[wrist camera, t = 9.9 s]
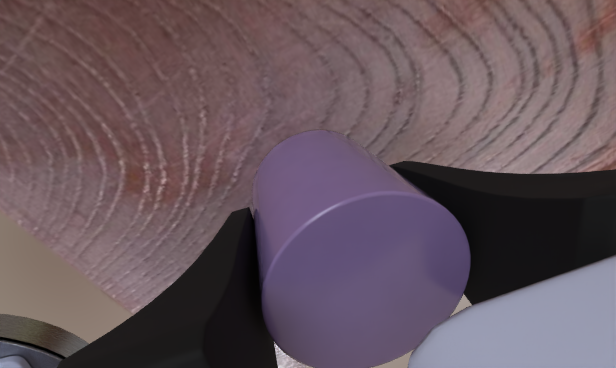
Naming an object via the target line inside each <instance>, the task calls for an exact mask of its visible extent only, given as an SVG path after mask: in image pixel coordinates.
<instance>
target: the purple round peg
mask: <svg viewBox="0 0 616 368" xmlns="http://www.w3.org/2000/svg"><path fill="white" fill-rule="evenodd" d="M252 207H253V219H254V230H255V242H256V253H257V265H258V276H259V288H260V299H261V309H262V315H263V320H264V323H265V326H266V328H267V331H268V332H269V334H270V336H271V337H272V339H273V341H274V342H275V343H276V344H277V345H278V346H279V348H280V349H281V350H282V351H284V352H285V353H286V354H287V355H288V356H290V357H291V358H293V359H295V360H296V361H298V362H300V363H302V364H305V365H307V366H310V367H313V368H371V367H375V366H379V365H382V364H384V363H387V362H390V361H392V360H395V359H397V358H399V357H401V356H403V355H405V354H407V353H408V352H410V351H412V350H413V349H415V348H416V347H417V346H418V345H419V343H420V342H421V341H422V340H423V339H424V337H425V336H426V335H427V334H428V333H429V332H430V330H431V329H432V328H433V327H434V326H435V325H436V324H438V323H440V322H442V321H444V320H445V319H447V318H449V317H450V315H451V314H452V313H453V311H454V310H455V308H456V307H457V305H458V303H459V302H460V300H461V298H462V296H463V293H464V291H465V289H466V285H467V282H468V279H469V273H470V267H471V254H470V247H469V243H468V240H467V237H466V234H465V232H464V230H463V228H462V226H461V224H460V223H459V221H458V220H457V219H456V217H455V216H454V215H453V214H452V213H451V212H450V211H449V210H448V209H447V208H446V207H444V206H443V205H442V204H440V203H439V202H438V201H436V200H435V199H433V198H432V197H431V196H429V195H428V194H427V193H425V192H424V191H423V190H421V189H420V188H419V187H417V186H416V185H414V184H413V183H412V182H410V181H409V180H408V179H406V178H405V177H404V176H402V175H401V174H400V173H398V172H397V171H395V170H394V169H393V168H391V167H390V166H389V165H387V164H386V163H385V162H383V161H382V160H380V159H379V158H378V157H376V156H375V155H374V154H372V153H371V152H370V151H368V150H367V149H366V148H364V147H363V146H361V145H360V144H359V143H357V142H356V141H354V140H353V139H351V138H350V137H348V136H346V135H343V134H341V133H337V132H334V131H328V130H313V131H306V132H302V133H299V134H296V135H294V136H291V137H289V138H287V139H286V140H284V141H282V142H281V143H279V144H278V145H277V146H275V147H274V148H273V149H272V150H271V151H270V152H269V153H268V154H267V155H266V157H265V158H264V159H263V161H262V162H261V164H260V166H259V167H258V170H257V172H256V174H255V177H254V181H253V185H252Z"/></svg>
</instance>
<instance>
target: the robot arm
mask: <svg viewBox="0 0 616 368" xmlns="http://www.w3.org/2000/svg"><path fill="white" fill-rule="evenodd" d="M389 166H390V167H391V168H393V169H394V170H395V171H397V172H398V173H400V174H401V175H402V176H404V177H405V178H406V179H408V180H409V181H410V182H412V183H413V184H414V185H416V186H417V187H419V188H420V189H421V190H423V191H424V192H425V193H427V194H428V195H429V196H431V197H432V198H433V199H435V200H436V201H438V202H439V203H440V204H442V205H443V206H444V207H446V208H447V209H448V210H449V211H450V212H451V213H452V214H453V215H454V216H455V217H456V219H457V220H458V221H459V223H460V224H461V226H462V228H463V230H464V232H465V234H466V237H467V240H468V243H469V247H470V254H471V267H470V273H469V279H468V282H467V285H466V289H465V291H464V293H463V294H464V295H465V296H466V297H467V299H468V300H469V301H470V303H471V304H472V306H469V307H466V308H465V309H463V310H461V311H460V312H458V313H456V314H454V315H452V316H451V317H449V318H447V319H445V320H444V321H442V322H440V323H438V324H436V325H435V326H434V327H433V328H432V329H431V330H430V332H429V333H428V334H427V335H426V336H425V337H424V339H423V340H422V341H421V342H420V343H419V345H418V346H417V347H416V348H415V349H414V351H413V352H412V354H411V356H410V359H409V364H408V368H616V169H615V170H605V171H592V172H580V173H561V174H513V173H495V172H483V171H475V170H466V169H459V168H452V167H446V166H440V165H434V164H428V163H421V162H413V161H403V162H399V163H396V164H392V165H389ZM0 368H31V367H30V365H29V364H28V362H27V361H26V360H25V359H24V358H22V357H20V356H9V357H5V358H1V359H0ZM57 368H278V366H277V360H276V353H275V347H274V341H273V339H272V337H271V336H270V334H269V332H268V331H267V328H266V326H265V323H264V320H263V315H262V309H261V299H260V288H259V276H258V265H257V253H256V242H255V230H254V219H253V217H252V214H251V211H250V208H249V207H248V208H244V209H241V210H238V211H234V212H232V213H231V214H230V216H229V217H228V218H227V220H226V221H225V223H224V224H223V226H222V227H221V229H220V230H219V232H218V233H217V234H216V236H215V237H214V239H213V240H212V241H211V242H210V244H209V245H208V246H207V247H206V249H205V250H204V251H203V252H202V254H201V255H200V256H199V257H198V259H197V260H196V261H195V262H194V263H193V264H192V265H191V266H190V267H189V268H188V269H187V270H186V271H185V272H184V273H183V274H182V275H181V276H180V277H179V278H178V279H177V280H176V281H175V282H174V283H173V284H172V285H171V286H169V287H168V288H167V289H166V290H165V291H163V292H162V293H161V294H160V295H159V296H158V297H156V298H155V299H154V300H153V301H152V302H150V303H149V304H148V305H147V306H145V307H144V308H143V309H141V310H140V311H139V312H137V313H136V314H134V315H133V316H132V317H130V318H129V319H127V320H126V321H125V322H123V323H122V324H120V325H119V326H117V327H116V328H114V329H113V330H111V331H110V332H108V333H107V334H105V335H104V336H102V337H100V338H99V339H97V340H96V341H94V342H92V343H90V344H89V345H87V346H85V347H84V348H82V349H81V350H79V351H77V352H76V353H74V354H72V355H71V356H69V357H67V358H65V359H64V360H62V361H61V362H60V363H59V365H58V367H57Z"/></svg>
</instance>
